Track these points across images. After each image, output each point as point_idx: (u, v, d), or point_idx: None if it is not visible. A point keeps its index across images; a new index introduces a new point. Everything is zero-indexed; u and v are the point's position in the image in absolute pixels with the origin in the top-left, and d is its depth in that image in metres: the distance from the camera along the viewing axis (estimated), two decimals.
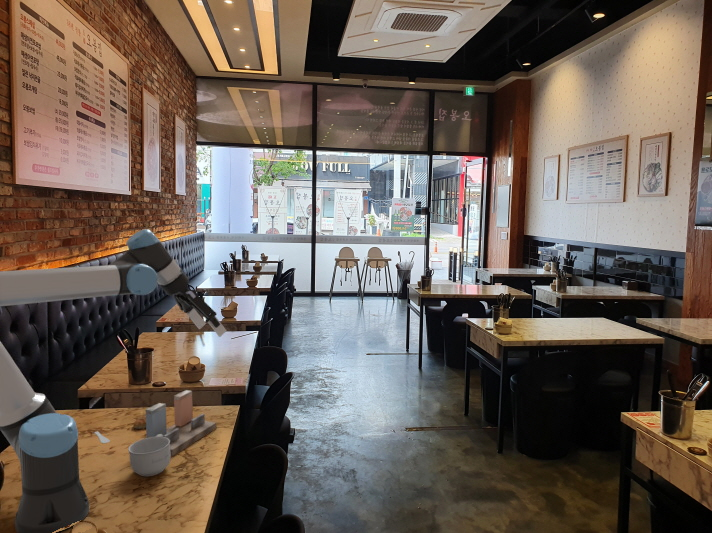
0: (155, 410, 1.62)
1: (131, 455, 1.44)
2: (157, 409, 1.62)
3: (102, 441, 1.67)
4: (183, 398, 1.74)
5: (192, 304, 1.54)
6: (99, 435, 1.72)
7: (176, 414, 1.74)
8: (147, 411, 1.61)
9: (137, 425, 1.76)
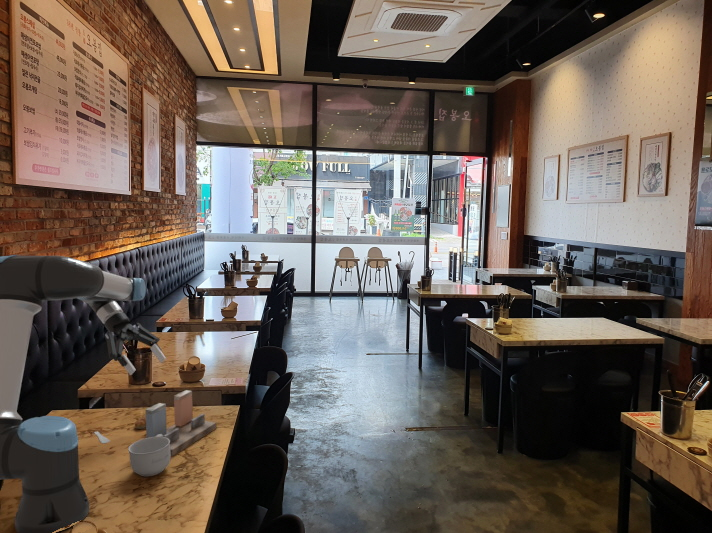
0: (155, 410, 1.62)
1: (131, 455, 1.44)
2: (157, 409, 1.62)
3: (102, 441, 1.67)
4: (183, 398, 1.74)
5: None
6: (99, 435, 1.72)
7: (176, 414, 1.74)
8: (147, 411, 1.61)
9: (139, 425, 1.76)
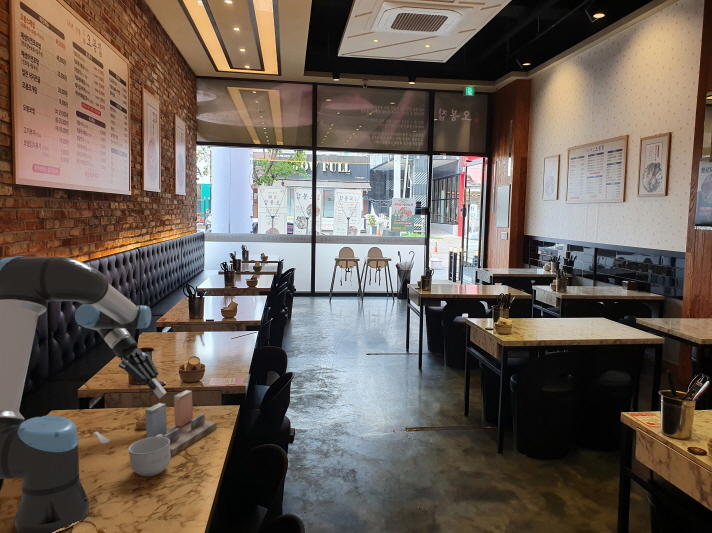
0: (155, 410, 1.62)
1: (131, 455, 1.44)
2: (157, 409, 1.62)
3: (102, 441, 1.67)
4: (183, 398, 1.74)
5: (144, 362, 1.83)
6: (99, 435, 1.71)
7: (176, 414, 1.74)
8: (147, 411, 1.61)
9: (140, 425, 1.76)
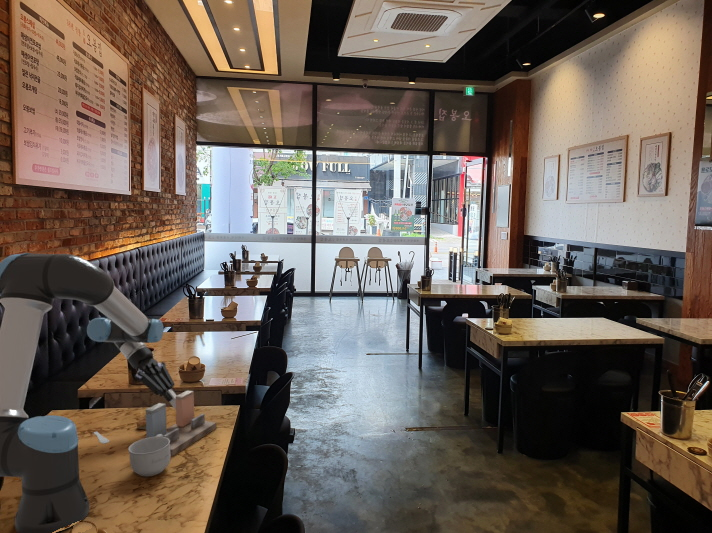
0: (155, 410, 1.62)
1: (131, 455, 1.44)
2: (157, 409, 1.62)
3: (101, 441, 1.67)
4: (185, 398, 1.74)
5: (160, 372, 1.81)
6: (98, 435, 1.71)
7: (178, 414, 1.73)
8: (147, 411, 1.61)
9: (141, 425, 1.76)
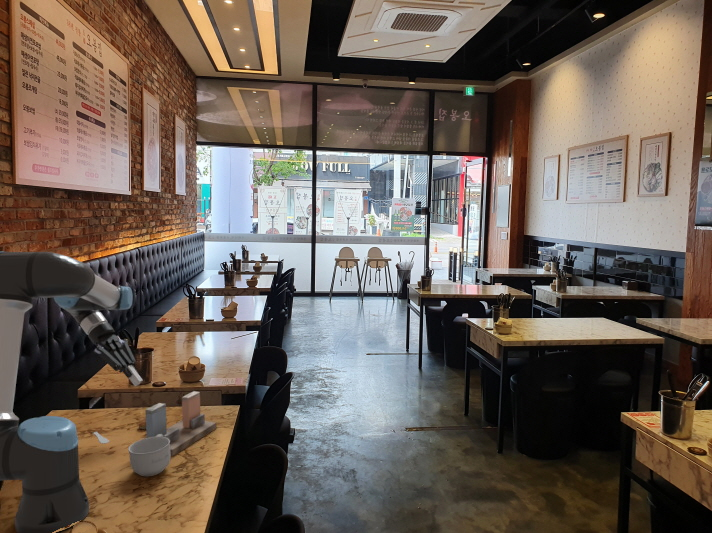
0: (155, 410, 1.62)
1: (131, 455, 1.44)
2: (157, 409, 1.62)
3: (101, 441, 1.67)
4: (191, 399, 1.73)
5: (121, 349, 1.78)
6: (98, 435, 1.71)
7: (184, 415, 1.73)
8: (147, 411, 1.61)
9: (143, 425, 1.76)
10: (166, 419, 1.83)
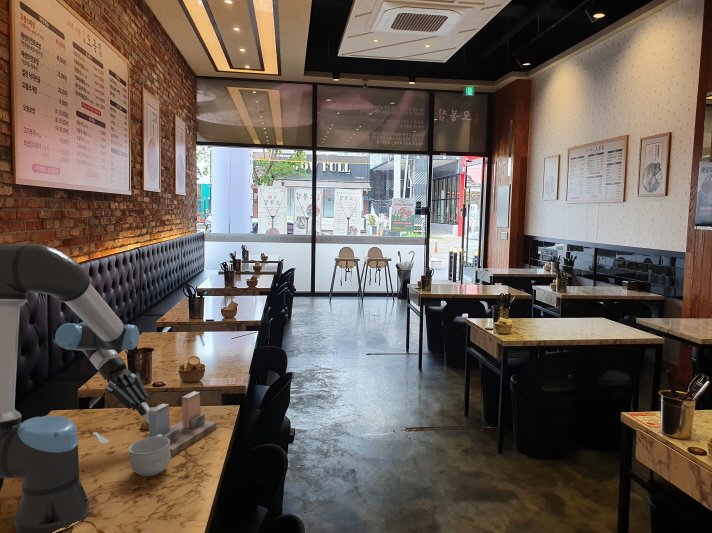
0: (158, 410, 1.61)
1: (131, 455, 1.44)
2: (160, 410, 1.62)
3: (101, 442, 1.67)
4: (191, 399, 1.73)
5: (134, 384, 1.68)
6: (98, 435, 1.71)
7: (184, 415, 1.73)
8: (150, 412, 1.60)
9: (145, 426, 1.76)
10: None
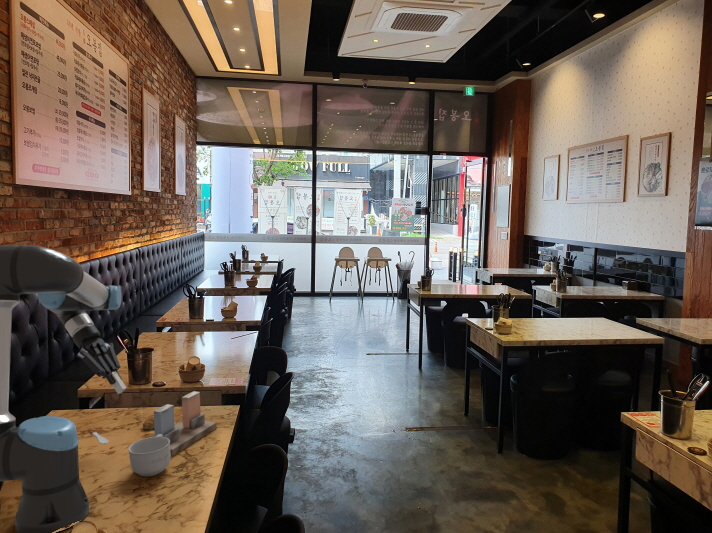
0: (163, 411, 1.60)
1: (131, 455, 1.44)
2: (165, 410, 1.61)
3: (101, 442, 1.67)
4: (191, 399, 1.73)
5: (106, 353, 1.71)
6: (97, 436, 1.71)
7: (184, 415, 1.73)
8: (155, 412, 1.60)
9: (147, 426, 1.76)
10: None
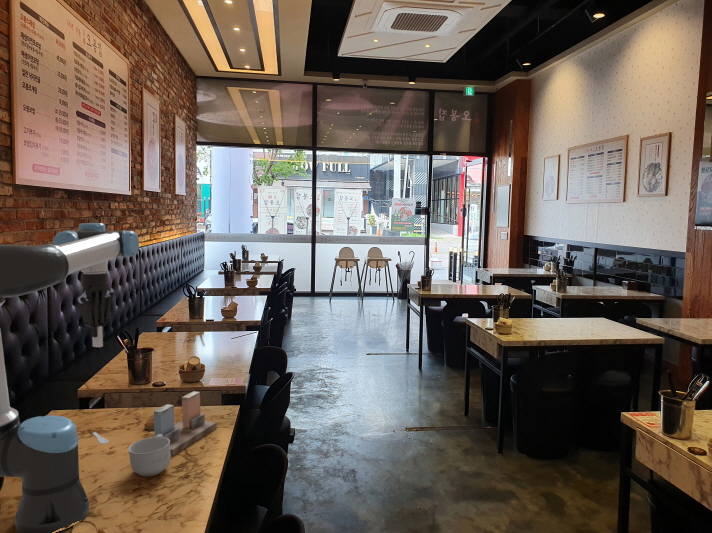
0: (163, 411, 1.60)
1: (131, 455, 1.44)
2: (165, 410, 1.61)
3: (101, 442, 1.67)
4: (191, 399, 1.73)
5: (103, 304, 1.69)
6: (97, 436, 1.71)
7: (184, 415, 1.73)
8: (155, 412, 1.60)
9: (150, 426, 1.76)
10: None
